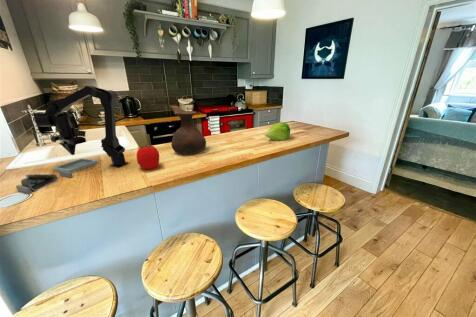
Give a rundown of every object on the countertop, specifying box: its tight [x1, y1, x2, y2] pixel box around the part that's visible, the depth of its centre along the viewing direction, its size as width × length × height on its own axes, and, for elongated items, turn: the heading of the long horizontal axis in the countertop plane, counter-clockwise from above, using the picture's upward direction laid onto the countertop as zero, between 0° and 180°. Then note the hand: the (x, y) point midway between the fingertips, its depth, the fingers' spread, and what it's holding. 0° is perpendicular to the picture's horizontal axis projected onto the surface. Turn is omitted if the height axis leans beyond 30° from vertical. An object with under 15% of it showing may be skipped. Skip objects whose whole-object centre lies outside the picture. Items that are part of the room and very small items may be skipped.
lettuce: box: [264, 121, 291, 142], centre depth 151 cm, size 15×22×15 cm, turn 115°
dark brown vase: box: [169, 105, 207, 156], centre depth 127 cm, size 22×22×30 cm
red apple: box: [136, 143, 160, 170], centre depth 107 cm, size 12×12×13 cm
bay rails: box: [15, 171, 74, 195], centre depth 92 cm, size 8×17×3 cm, turn 159°
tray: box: [53, 157, 99, 174], centre depth 110 cm, size 12×15×2 cm
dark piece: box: [20, 173, 59, 192], centre depth 90 cm, size 10×7×12 cm
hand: (73, 154), depth 108 cm, fingers closed
